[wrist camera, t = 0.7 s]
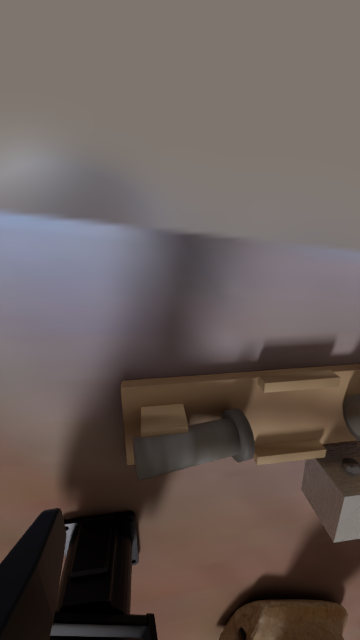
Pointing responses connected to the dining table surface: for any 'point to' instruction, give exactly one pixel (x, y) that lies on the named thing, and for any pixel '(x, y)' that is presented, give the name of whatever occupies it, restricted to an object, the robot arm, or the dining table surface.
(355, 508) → the block
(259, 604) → the stone cup
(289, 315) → the dining table surface
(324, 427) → the shaft bench
